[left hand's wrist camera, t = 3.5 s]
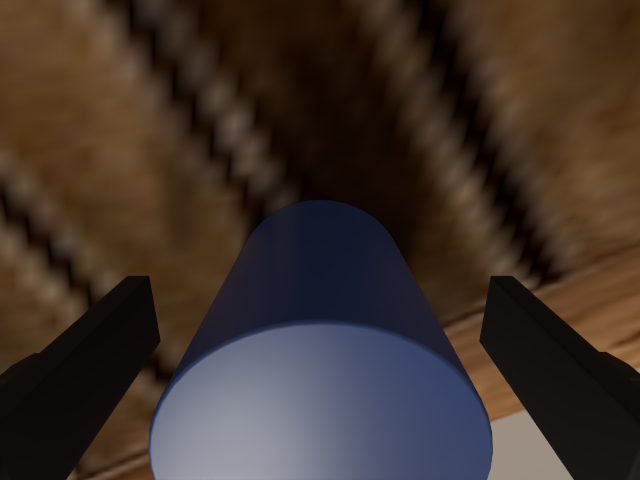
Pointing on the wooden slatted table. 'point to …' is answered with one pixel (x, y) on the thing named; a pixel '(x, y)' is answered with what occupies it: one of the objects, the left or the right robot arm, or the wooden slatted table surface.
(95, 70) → the wooden slatted table surface
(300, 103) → the wooden slatted table surface
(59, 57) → the wooden slatted table surface
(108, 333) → the left robot arm
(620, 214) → the wooden slatted table surface
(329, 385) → the canister
